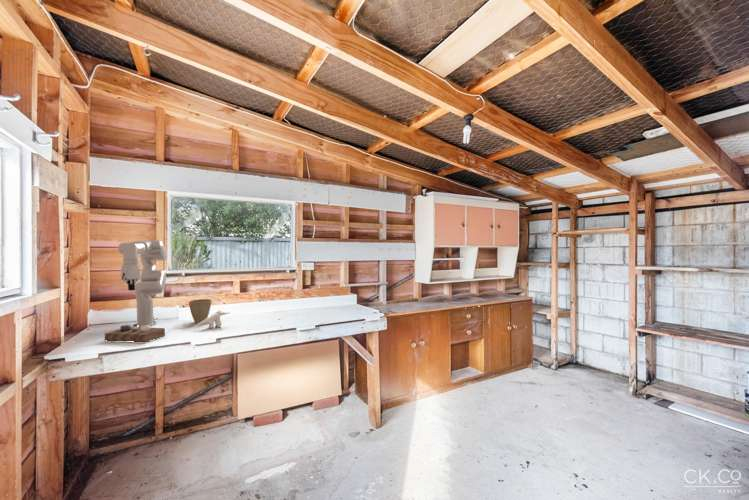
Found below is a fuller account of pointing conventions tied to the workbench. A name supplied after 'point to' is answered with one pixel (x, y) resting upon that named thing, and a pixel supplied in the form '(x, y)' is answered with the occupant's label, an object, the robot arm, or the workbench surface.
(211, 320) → the white dinosaur figurine
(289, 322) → the workbench surface
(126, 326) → the black knob
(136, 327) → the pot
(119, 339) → the mount
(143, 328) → the ivory knob
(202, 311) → the plant pot
